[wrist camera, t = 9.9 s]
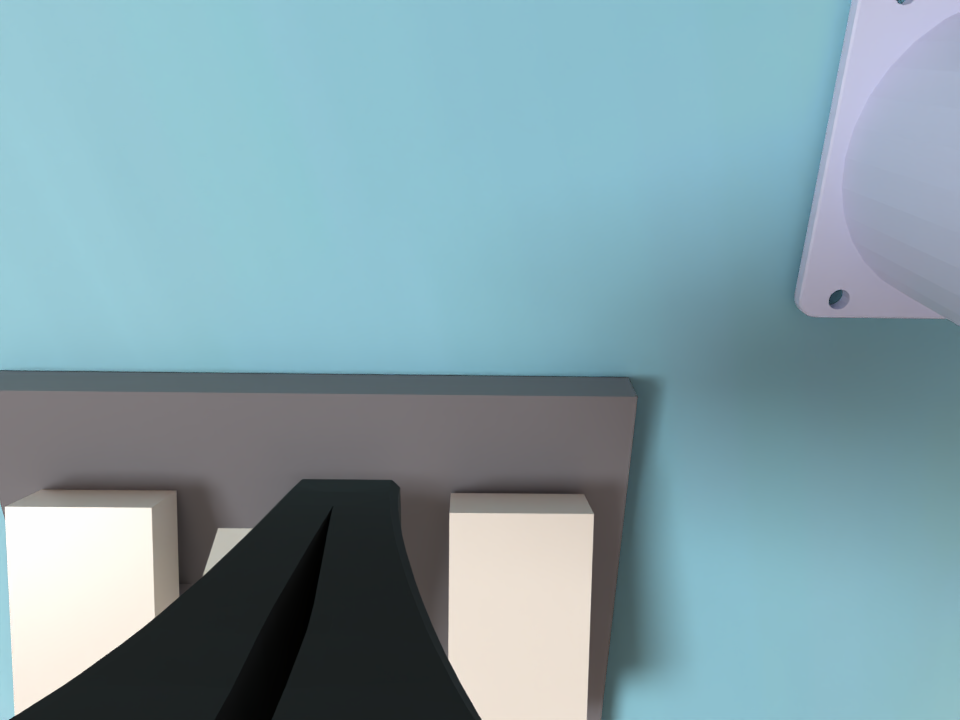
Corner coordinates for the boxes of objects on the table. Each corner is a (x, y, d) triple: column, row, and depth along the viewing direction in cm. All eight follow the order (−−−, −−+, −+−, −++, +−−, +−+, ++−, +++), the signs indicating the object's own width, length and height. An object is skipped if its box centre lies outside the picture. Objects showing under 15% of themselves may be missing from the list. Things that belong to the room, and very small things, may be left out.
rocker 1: (176, 490, 20) (150, 508, 18) (183, 770, 21) (158, 812, 19) (41, 489, 20) (2, 507, 18) (53, 770, 21) (16, 813, 19)
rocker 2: (583, 493, 20) (594, 515, 18) (575, 765, 21) (584, 809, 19) (451, 493, 20) (449, 514, 18) (448, 765, 21) (447, 809, 19)
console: (628, 377, 20) (645, 412, 18) (591, 723, 25) (601, 779, 23) (-4, 370, 20) (-55, 406, 18) (88, 722, 25) (56, 779, 23)
